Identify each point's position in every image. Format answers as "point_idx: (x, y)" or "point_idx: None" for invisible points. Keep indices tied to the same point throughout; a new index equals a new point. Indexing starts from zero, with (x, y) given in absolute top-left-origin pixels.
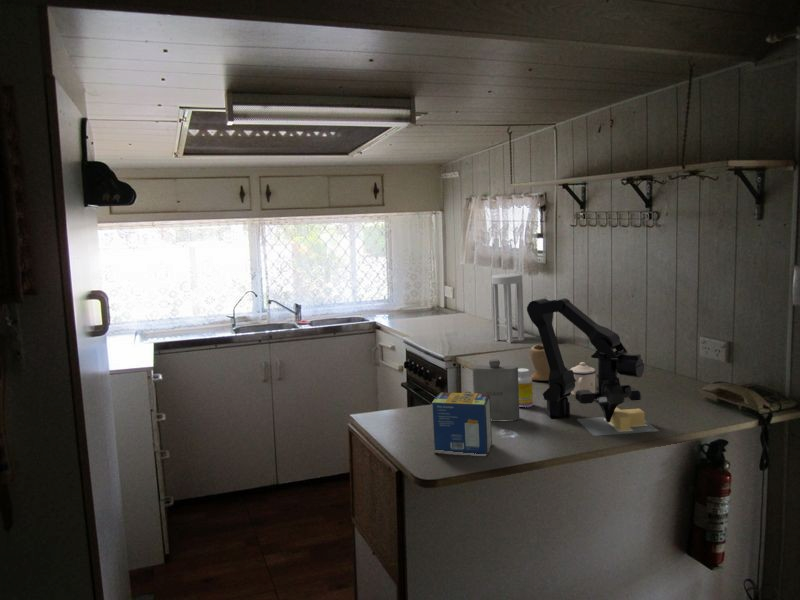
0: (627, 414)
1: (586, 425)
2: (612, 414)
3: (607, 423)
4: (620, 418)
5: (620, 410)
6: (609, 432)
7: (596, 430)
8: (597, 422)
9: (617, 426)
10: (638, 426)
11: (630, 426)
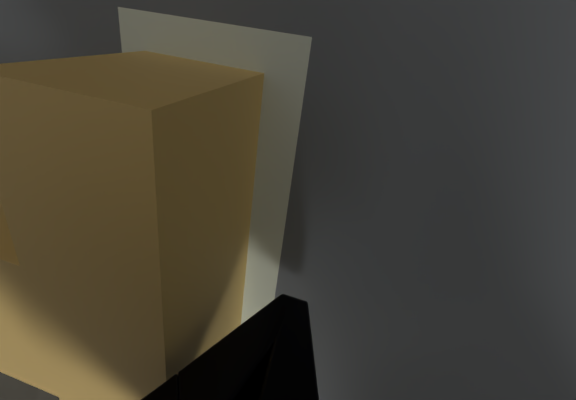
0: (9, 249)
1: (528, 390)
2: (209, 353)
3: None
4: (159, 105)
5: (61, 383)
6: (457, 60)
7: (567, 217)
8: (353, 382)
9: (247, 179)
10: None
11: None
